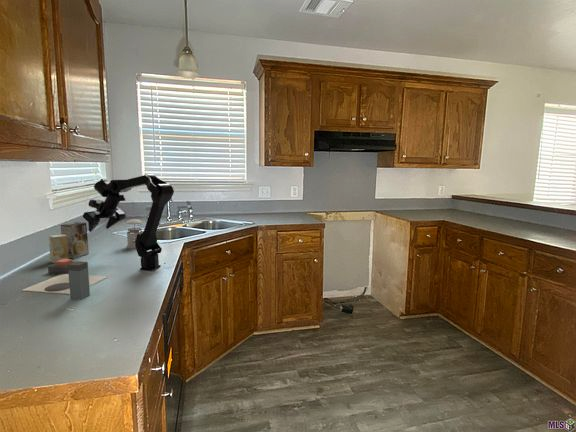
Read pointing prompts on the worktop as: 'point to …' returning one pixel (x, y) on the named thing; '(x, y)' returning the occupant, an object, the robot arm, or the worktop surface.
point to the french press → (133, 231)
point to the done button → (64, 262)
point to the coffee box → (76, 238)
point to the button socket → (58, 269)
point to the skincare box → (58, 247)
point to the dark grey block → (78, 280)
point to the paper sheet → (59, 284)
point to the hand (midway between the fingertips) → (98, 229)
